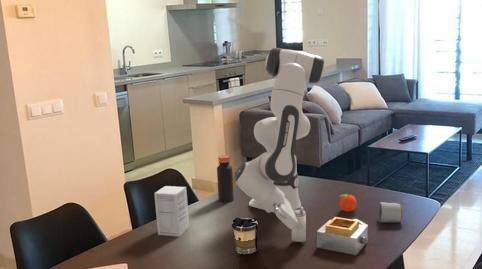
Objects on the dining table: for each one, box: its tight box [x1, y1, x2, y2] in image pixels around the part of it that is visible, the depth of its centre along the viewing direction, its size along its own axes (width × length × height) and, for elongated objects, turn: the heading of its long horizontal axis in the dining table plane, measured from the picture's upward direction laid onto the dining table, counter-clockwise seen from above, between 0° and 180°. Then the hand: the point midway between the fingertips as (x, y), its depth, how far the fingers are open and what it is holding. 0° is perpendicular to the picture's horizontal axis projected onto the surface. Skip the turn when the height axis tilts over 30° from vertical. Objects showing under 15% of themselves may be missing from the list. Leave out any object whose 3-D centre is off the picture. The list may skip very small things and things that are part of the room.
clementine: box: [337, 194, 358, 212], centre depth 216 cm, size 8×7×7 cm
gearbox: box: [316, 216, 369, 256], centre depth 183 cm, size 15×12×8 cm
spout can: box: [291, 206, 307, 243], centre depth 186 cm, size 5×5×12 cm
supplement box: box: [154, 185, 190, 237], centre depth 201 cm, size 10×9×17 cm
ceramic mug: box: [377, 201, 403, 223], centre depth 204 cm, size 11×8×8 cm
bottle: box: [216, 155, 235, 203], centre depth 234 cm, size 7×7×20 cm
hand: (300, 224), depth 187 cm, fingers closed on spout can, 5 cm apart
